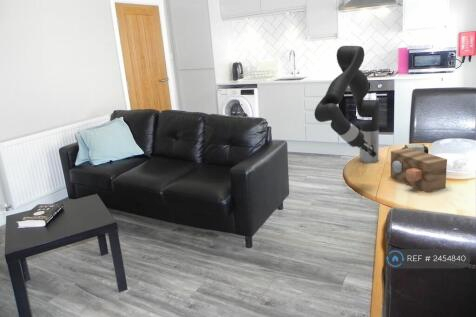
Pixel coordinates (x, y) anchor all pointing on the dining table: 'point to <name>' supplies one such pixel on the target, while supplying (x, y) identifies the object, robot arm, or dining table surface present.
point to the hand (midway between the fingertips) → (374, 155)
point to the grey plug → (397, 166)
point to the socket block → (428, 163)
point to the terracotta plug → (413, 174)
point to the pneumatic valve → (417, 147)
